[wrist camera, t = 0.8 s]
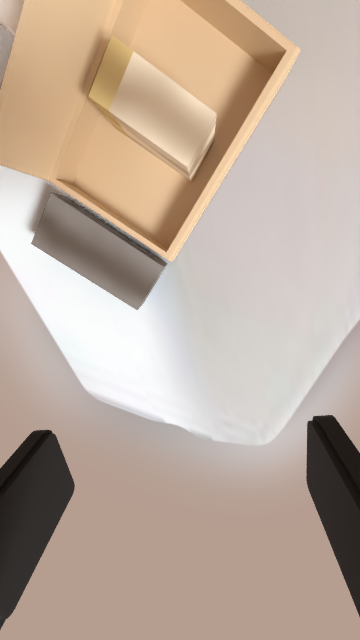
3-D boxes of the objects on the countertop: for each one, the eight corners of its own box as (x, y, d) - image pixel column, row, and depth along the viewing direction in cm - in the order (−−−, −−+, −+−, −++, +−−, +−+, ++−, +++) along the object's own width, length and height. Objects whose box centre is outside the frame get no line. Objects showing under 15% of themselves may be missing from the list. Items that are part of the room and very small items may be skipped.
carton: (151, -31, 23) (100, -278, 12) (286, 77, 25) (353, -51, 14) (64, 185, 30) (-19, 157, 19) (175, 258, 32) (158, 272, 21)
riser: (64, 196, 31) (50, 192, 28) (167, 264, 32) (163, 267, 29) (46, 242, 33) (31, 243, 30) (142, 303, 34) (137, 310, 32)
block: (135, 84, 26) (111, 34, 19) (213, 142, 27) (216, 113, 21) (116, 128, 28) (88, 96, 21) (191, 182, 29) (187, 166, 22)
